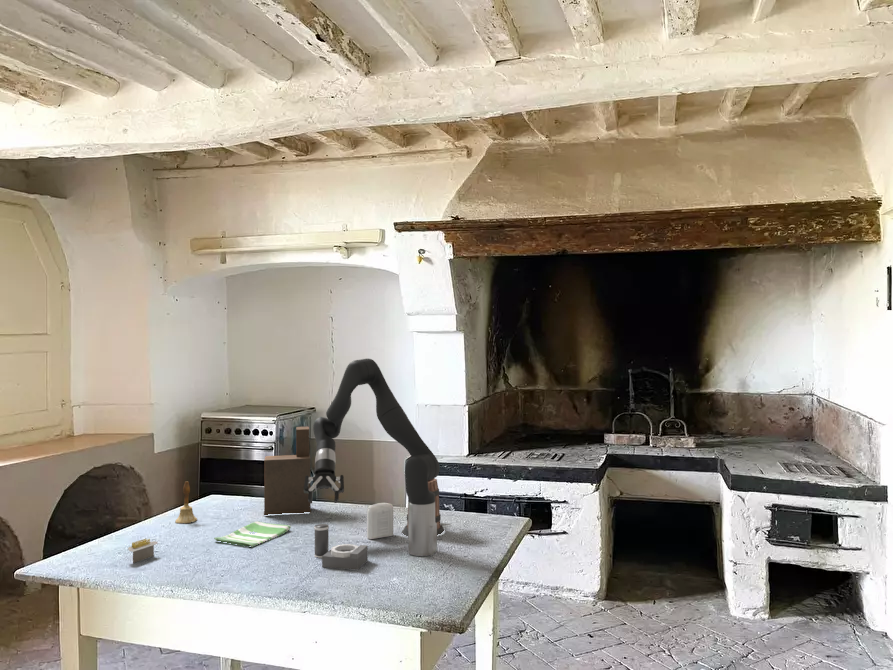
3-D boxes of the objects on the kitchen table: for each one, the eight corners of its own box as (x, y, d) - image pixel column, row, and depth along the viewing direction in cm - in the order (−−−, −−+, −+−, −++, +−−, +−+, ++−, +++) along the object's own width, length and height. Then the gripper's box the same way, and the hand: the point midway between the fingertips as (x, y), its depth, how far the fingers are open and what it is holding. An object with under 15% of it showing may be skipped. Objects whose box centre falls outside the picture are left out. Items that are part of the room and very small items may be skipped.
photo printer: (389, 533, 246) (389, 500, 246) (395, 535, 242) (395, 502, 242) (365, 537, 240) (364, 504, 240) (370, 540, 236) (370, 506, 236)
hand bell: (176, 519, 266) (176, 480, 267) (197, 517, 269) (197, 478, 269) (174, 524, 259) (174, 484, 259) (196, 522, 261) (196, 482, 261)
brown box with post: (310, 505, 288) (310, 426, 289) (310, 513, 274) (310, 430, 275) (265, 508, 284) (265, 427, 284) (263, 516, 270) (263, 432, 270)
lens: (331, 553, 221) (331, 524, 221) (325, 558, 217) (325, 528, 217) (318, 552, 222) (318, 523, 223) (311, 557, 218) (311, 527, 218)
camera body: (367, 560, 214) (367, 545, 214) (357, 570, 205) (357, 554, 205) (333, 558, 217) (333, 543, 217) (322, 567, 208) (322, 551, 208)
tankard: (439, 540, 237) (439, 484, 237) (395, 536, 241) (395, 482, 241) (454, 522, 260) (454, 472, 260) (413, 520, 264) (413, 470, 264)
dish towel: (212, 543, 235) (212, 536, 235) (256, 527, 256) (256, 520, 256) (251, 549, 228) (251, 541, 228) (293, 532, 249) (293, 525, 249)
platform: (105, 566, 211) (105, 545, 211) (152, 550, 227) (152, 531, 227) (130, 571, 206) (130, 550, 206) (176, 555, 222) (176, 535, 222)
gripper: (305, 458, 239) (302, 497, 227) (344, 457, 241) (343, 496, 229) (306, 469, 244) (303, 508, 233) (344, 468, 246) (343, 507, 234)
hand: (323, 502), depth 231 cm, fingers open, 8 cm apart
